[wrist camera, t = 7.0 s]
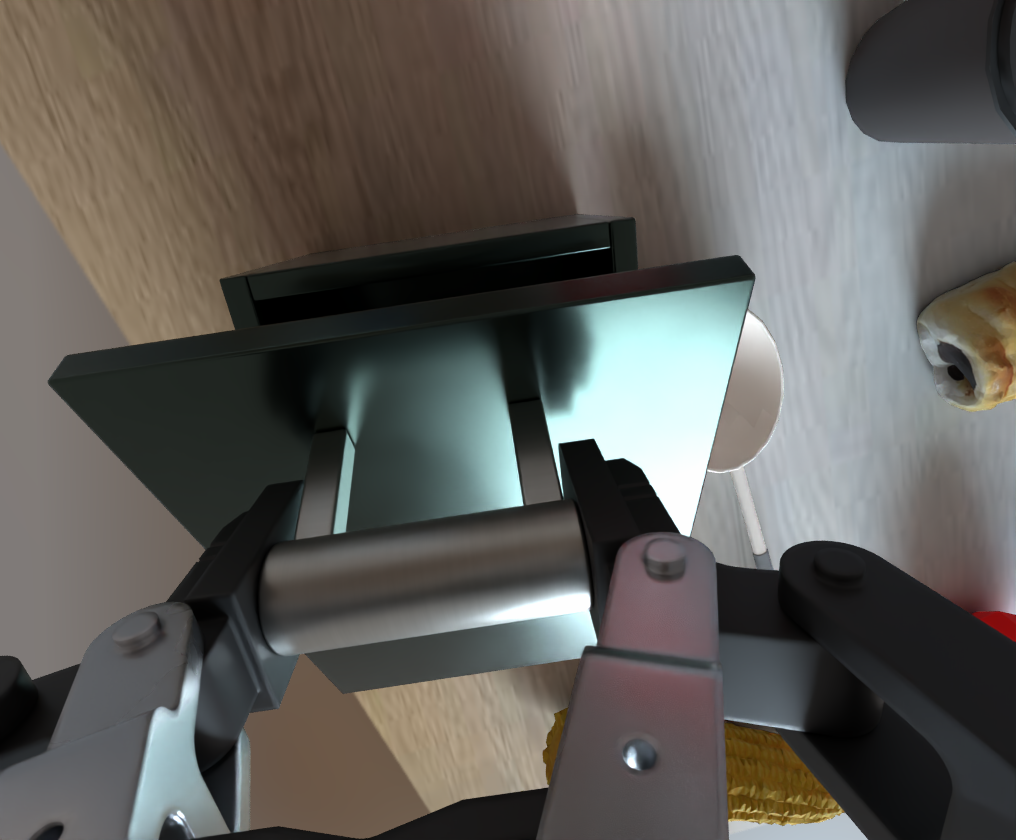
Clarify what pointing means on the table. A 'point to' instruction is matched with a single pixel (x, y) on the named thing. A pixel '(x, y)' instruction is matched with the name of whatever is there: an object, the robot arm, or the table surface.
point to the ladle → (749, 420)
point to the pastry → (973, 341)
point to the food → (752, 778)
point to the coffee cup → (937, 74)
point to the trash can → (432, 268)
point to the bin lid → (429, 455)
